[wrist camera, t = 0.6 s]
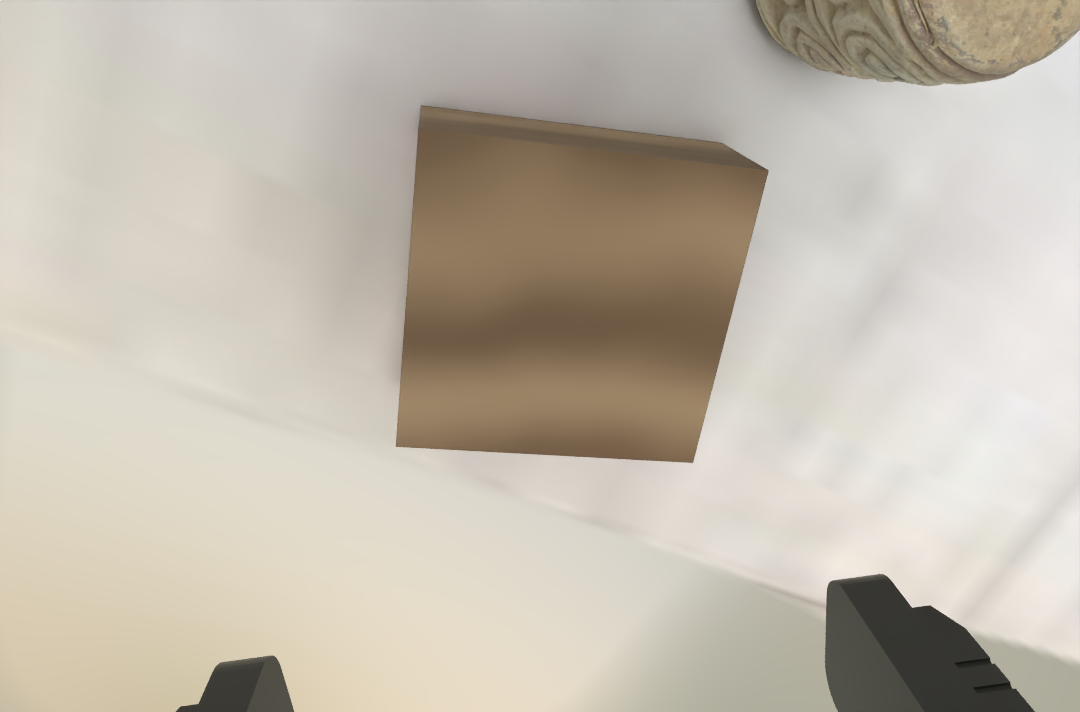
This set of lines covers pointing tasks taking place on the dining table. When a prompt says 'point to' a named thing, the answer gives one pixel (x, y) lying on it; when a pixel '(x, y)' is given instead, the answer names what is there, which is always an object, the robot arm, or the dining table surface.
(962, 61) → the carving
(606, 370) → the walnut block
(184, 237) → the dining table surface
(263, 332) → the dining table surface
